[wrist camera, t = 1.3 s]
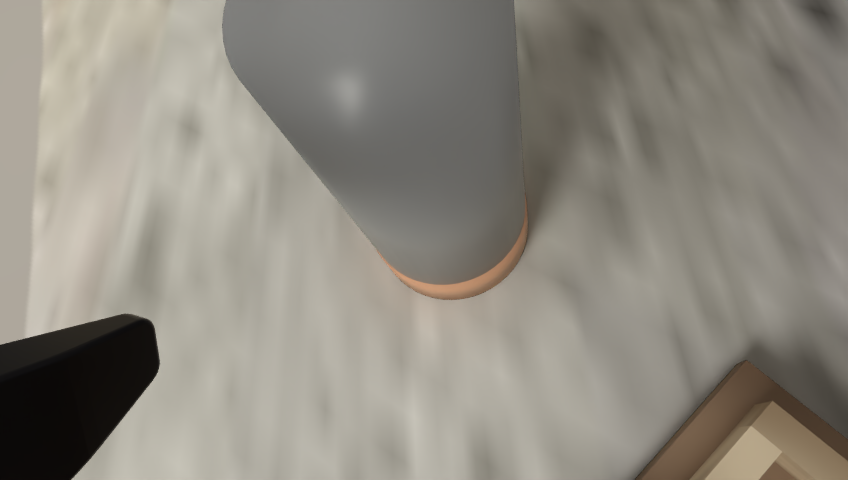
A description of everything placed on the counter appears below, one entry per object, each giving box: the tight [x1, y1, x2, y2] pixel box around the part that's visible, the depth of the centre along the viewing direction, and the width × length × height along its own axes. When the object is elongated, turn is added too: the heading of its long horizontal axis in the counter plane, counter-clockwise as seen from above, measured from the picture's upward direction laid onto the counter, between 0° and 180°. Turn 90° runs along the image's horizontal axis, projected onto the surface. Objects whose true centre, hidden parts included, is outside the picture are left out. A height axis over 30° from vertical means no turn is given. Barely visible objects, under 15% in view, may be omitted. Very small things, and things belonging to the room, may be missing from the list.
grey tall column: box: [222, 0, 528, 300], centre depth 17 cm, size 6×6×13 cm
